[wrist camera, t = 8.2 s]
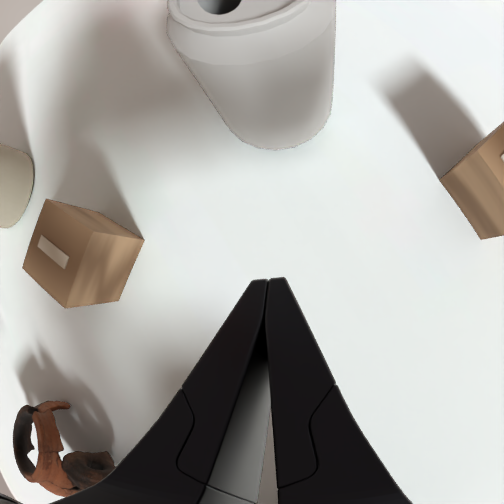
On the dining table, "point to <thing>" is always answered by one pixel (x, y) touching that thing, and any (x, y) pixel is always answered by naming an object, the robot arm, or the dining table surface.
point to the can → (261, 64)
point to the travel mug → (14, 184)
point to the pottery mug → (55, 453)
